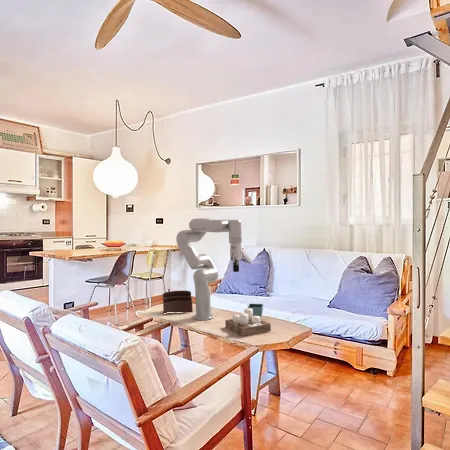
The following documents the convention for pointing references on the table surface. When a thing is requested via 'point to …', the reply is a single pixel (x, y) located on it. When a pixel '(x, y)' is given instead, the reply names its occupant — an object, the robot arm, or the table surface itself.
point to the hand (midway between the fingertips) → (236, 271)
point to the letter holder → (177, 301)
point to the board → (247, 327)
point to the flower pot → (256, 309)
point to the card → (255, 325)
